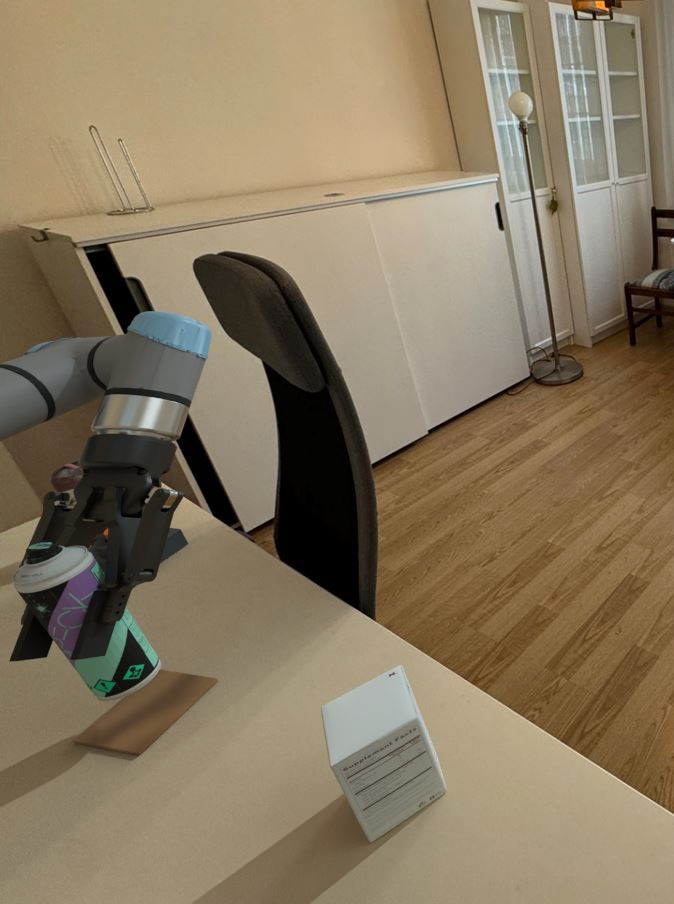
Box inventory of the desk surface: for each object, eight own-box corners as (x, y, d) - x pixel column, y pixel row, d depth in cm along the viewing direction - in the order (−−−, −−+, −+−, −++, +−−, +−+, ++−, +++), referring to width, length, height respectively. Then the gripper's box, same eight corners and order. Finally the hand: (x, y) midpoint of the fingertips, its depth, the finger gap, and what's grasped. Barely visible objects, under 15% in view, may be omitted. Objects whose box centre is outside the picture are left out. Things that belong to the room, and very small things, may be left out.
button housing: (83, 573, 87) (67, 548, 85) (139, 538, 94) (126, 514, 92) (135, 580, 85) (120, 555, 83) (188, 543, 93) (176, 520, 90)
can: (119, 521, 98) (80, 455, 92) (150, 524, 97) (112, 457, 91) (79, 546, 93) (34, 477, 87) (111, 549, 92) (68, 479, 86)
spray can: (95, 680, 64) (-2, 547, 56) (159, 649, 68) (76, 519, 59) (96, 711, 61) (-7, 574, 52) (163, 677, 64) (77, 544, 56)
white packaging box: (356, 782, 59) (318, 704, 53) (431, 737, 63) (403, 660, 58) (368, 847, 53) (327, 768, 48) (449, 793, 57) (419, 714, 52)
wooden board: (74, 743, 63) (72, 740, 63) (159, 671, 71) (157, 668, 71) (139, 755, 62) (137, 752, 61) (218, 680, 70) (216, 678, 69)
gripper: (239, 443, 69) (180, 651, 61) (91, 447, 69) (12, 655, 61) (184, 428, 62) (109, 661, 54) (19, 433, 62) (-81, 667, 54)
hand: (58, 658), depth 57 cm, fingers closed on spray can, 5 cm apart
